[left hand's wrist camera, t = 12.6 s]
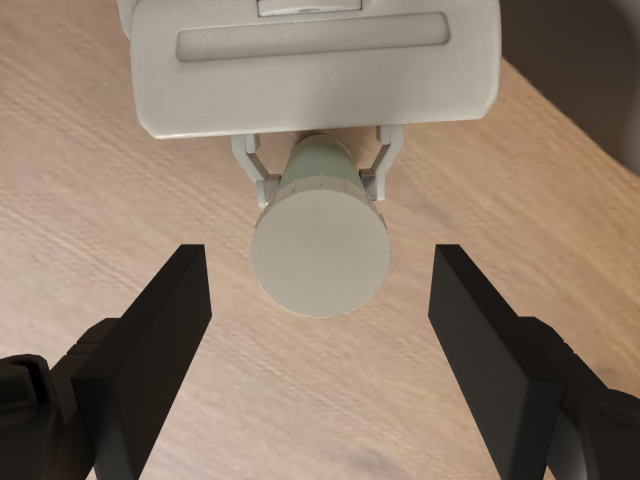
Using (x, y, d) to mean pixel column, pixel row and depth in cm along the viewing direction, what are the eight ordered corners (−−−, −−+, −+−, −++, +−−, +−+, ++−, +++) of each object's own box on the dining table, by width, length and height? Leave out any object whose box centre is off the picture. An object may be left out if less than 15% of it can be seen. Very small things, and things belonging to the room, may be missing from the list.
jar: (311, 120, 31) (302, 165, 15) (366, 158, 32) (410, 236, 16) (276, 176, 33) (234, 268, 17) (329, 210, 34) (336, 328, 18)
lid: (302, 148, 17) (299, 158, 15) (409, 220, 18) (421, 239, 16) (235, 252, 19) (223, 274, 17) (336, 311, 20) (338, 340, 18)
